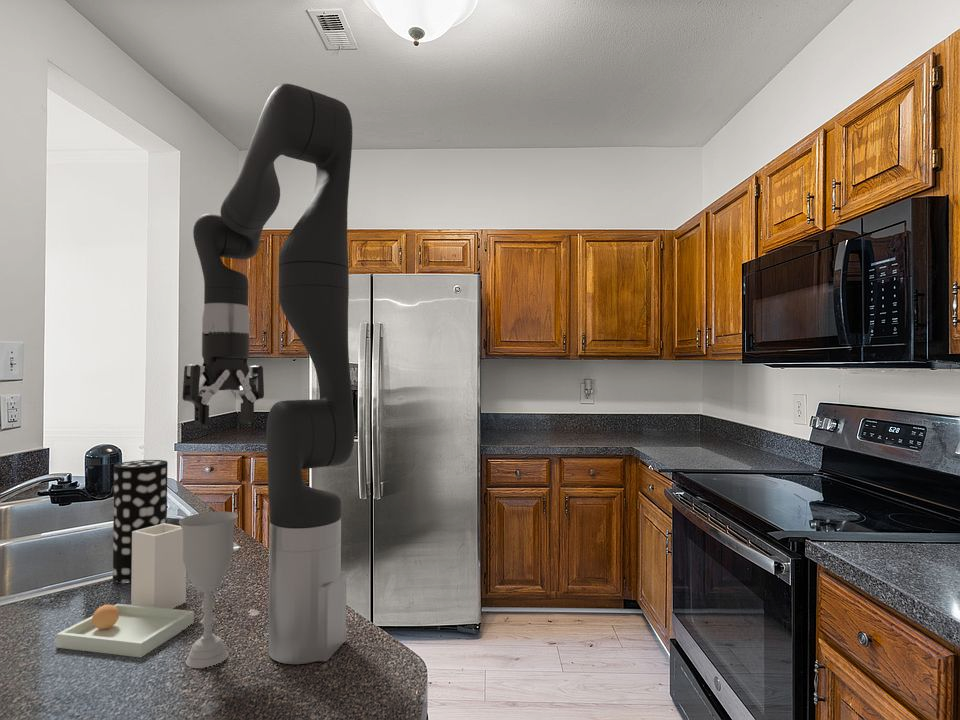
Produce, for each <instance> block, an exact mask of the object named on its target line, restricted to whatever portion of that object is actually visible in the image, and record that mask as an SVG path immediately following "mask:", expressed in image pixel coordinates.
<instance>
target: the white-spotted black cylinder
mask: <svg viewBox="0 0 960 720" xmlns="http://www.w3.org/2000/svg"><path fill="white" fill-rule="evenodd" d="M168 463H169V462H168V460H162V459H143V460H141V459H139V460H132V461H129V460H128V461H123V462H118V463H116V464H114V466H113V521H112V522H113V524H112V525H113V529H112V530H113V531H112V532H113V533H112V534H113V535H112V537H113V539H112V541H113V543H112V545H113V546H112V549H113V550H112V580H113V579H114V580H115V581H118V582H131V580H132V531H136V530H140V529H144V528H148V527H151V526H155V525H159V524H163V523H166V524H168ZM115 581H114V582H115Z"/></svg>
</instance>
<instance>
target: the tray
mask: <svg viewBox="0 0 960 720" xmlns="http://www.w3.org/2000/svg"><path fill="white" fill-rule="evenodd" d="M113 606H115V607H116V608H117V609H118V611H119V618H118V620H117V622H116V623H115V624H114V625H113V626H112V627H110V628H108V629H98V628H96V627H95V626H94V624H93V622H92V617H93V615H91V616H90V617H88V618H86V619H83V620H82V621H79V622H77V623H76V624H73V625H72V626H70V627H68V628H65V629H64V630H62V631H60V632H58V633H56V636H55V637H56V638H55V641H56V642H55V648H57V649H66V650H75V651H84V652H91V653H99V654H107V655H108V654H109V655H117V656H126V657H134V658H142V657H144V656H145V655H147V654H148V653H150V652H152V651H153V650H155V649H156V648H158V647H159V646H161V645H163V644H164V643H167V641H168V640H170V639H172V638H174V637H175V636H177V635H178V634H180V633H181V632H183V631H185V630H186V629H187V628H189V627H190V625H191V624H192V625H194V624H193V623H195V610H187V609H179V608H177V609H176V608H172V609H167V608H157V607H147V606H137V605H131V604H125V603H116V604H113ZM192 625H191V626H192ZM188 626H189V627H188ZM182 630H183V631H182Z"/></svg>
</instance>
